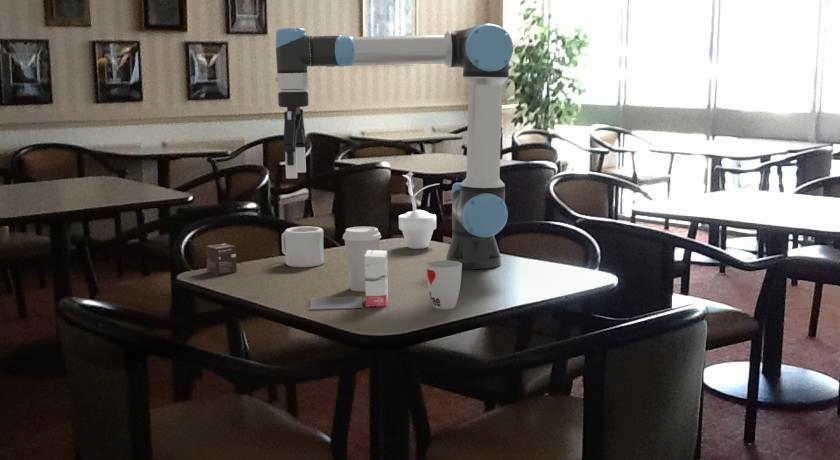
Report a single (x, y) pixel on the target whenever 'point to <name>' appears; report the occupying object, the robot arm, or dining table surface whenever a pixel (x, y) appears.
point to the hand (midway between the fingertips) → (296, 175)
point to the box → (221, 259)
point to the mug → (303, 246)
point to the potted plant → (417, 222)
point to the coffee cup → (359, 253)
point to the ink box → (376, 278)
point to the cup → (444, 283)
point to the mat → (336, 303)
